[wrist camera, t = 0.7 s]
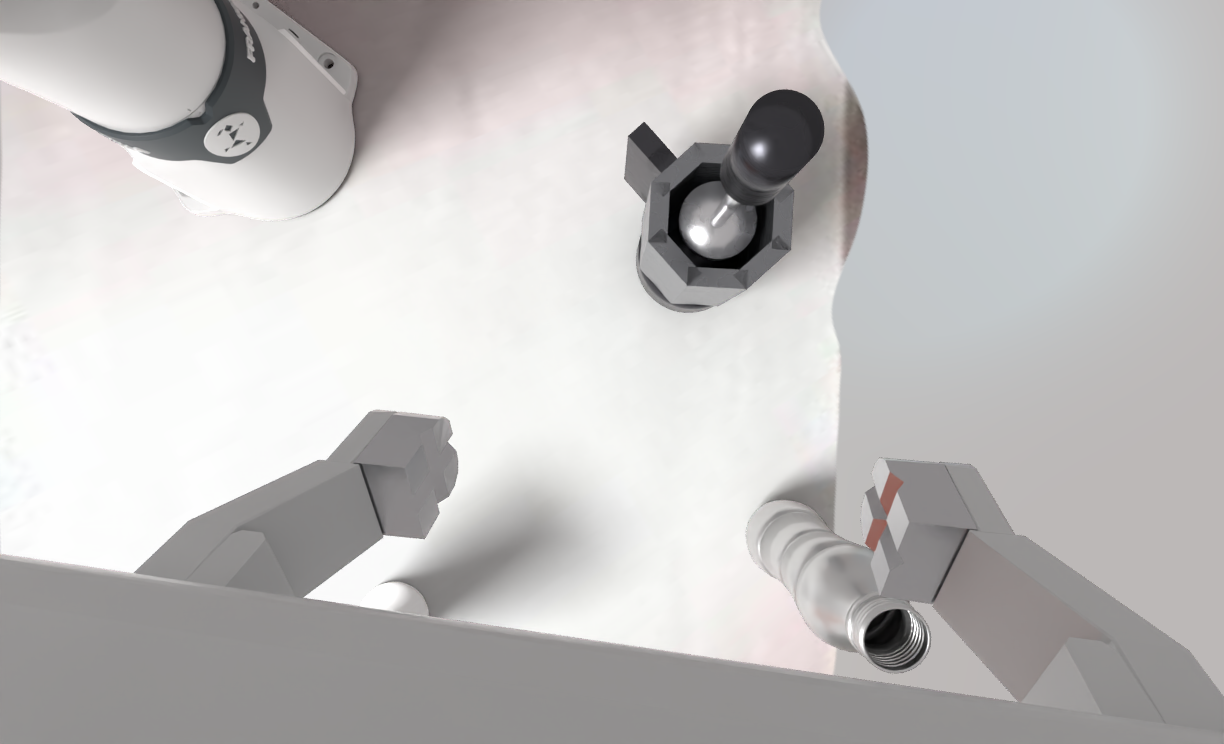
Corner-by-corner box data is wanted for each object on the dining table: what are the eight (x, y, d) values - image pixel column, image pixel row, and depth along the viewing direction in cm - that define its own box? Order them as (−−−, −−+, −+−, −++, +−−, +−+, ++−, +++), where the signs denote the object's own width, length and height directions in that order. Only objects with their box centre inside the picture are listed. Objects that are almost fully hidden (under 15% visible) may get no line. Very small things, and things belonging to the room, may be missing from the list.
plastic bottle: (733, 502, 49) (820, 592, 29) (807, 486, 49) (946, 566, 29) (747, 574, 49) (844, 713, 29) (822, 558, 49) (971, 687, 29)
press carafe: (589, 228, 49) (582, 170, 35) (667, 158, 49) (691, 73, 35) (684, 334, 49) (715, 319, 35) (761, 264, 49) (824, 221, 35)
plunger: (662, 219, 36) (697, 124, 22) (719, 168, 36) (789, 41, 22) (713, 276, 36) (780, 216, 22) (769, 225, 36) (872, 134, 22)
